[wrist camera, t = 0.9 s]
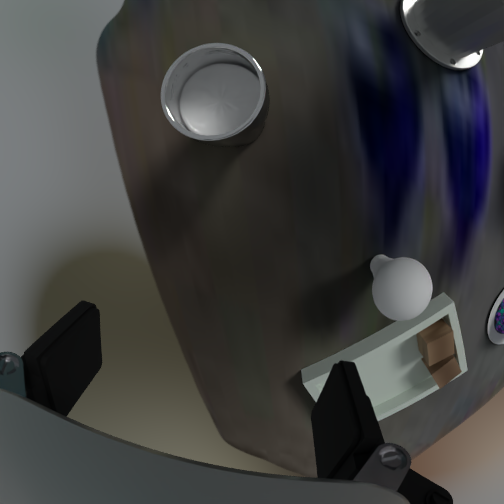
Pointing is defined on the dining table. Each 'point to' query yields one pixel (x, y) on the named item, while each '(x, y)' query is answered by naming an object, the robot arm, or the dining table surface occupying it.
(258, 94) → the beer glass
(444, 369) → the walnut block
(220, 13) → the dining table surface
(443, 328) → the walnut block
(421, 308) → the lightbulb
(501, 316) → the pudding
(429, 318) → the tray
